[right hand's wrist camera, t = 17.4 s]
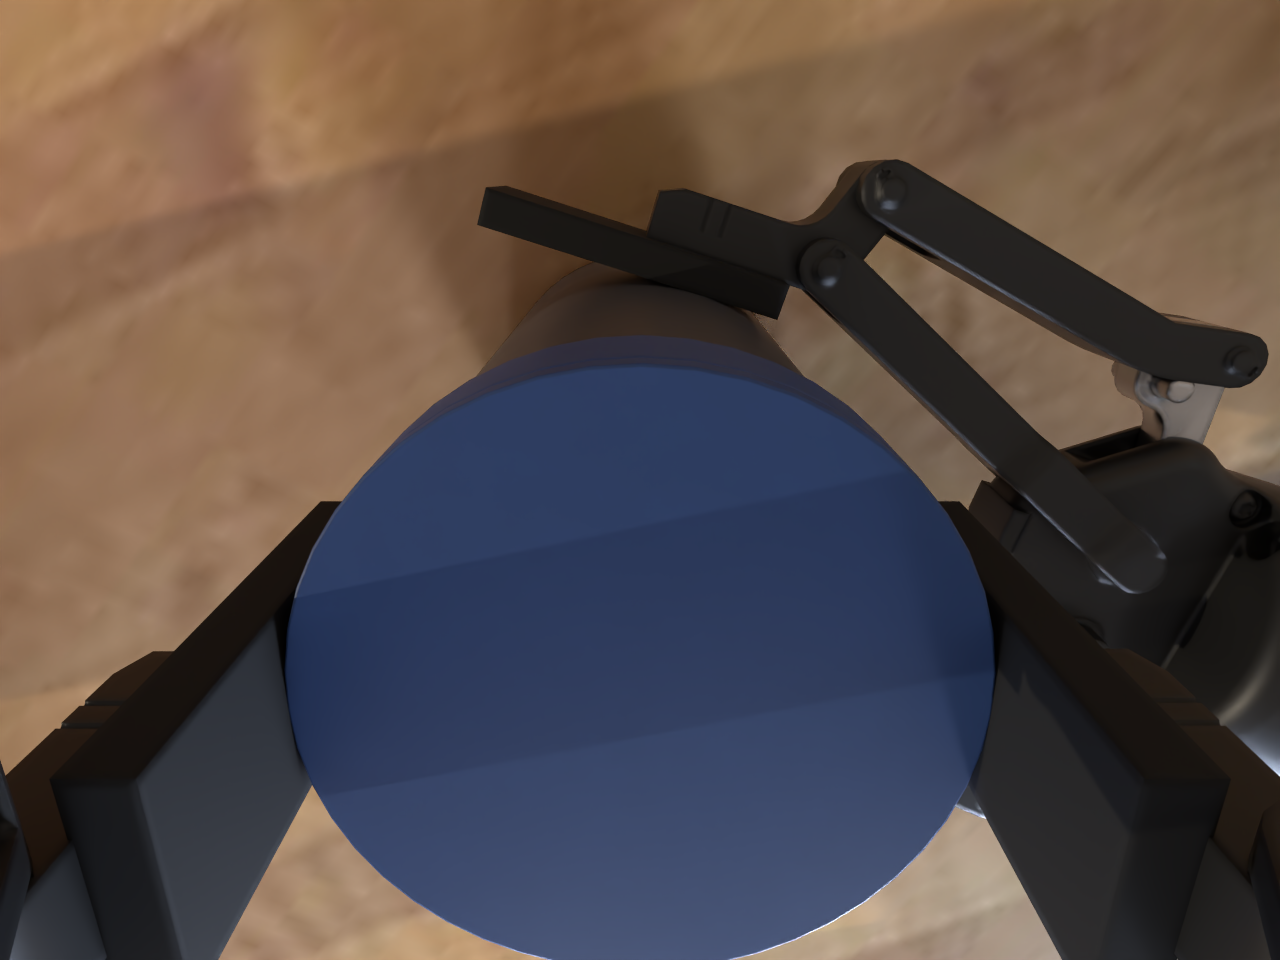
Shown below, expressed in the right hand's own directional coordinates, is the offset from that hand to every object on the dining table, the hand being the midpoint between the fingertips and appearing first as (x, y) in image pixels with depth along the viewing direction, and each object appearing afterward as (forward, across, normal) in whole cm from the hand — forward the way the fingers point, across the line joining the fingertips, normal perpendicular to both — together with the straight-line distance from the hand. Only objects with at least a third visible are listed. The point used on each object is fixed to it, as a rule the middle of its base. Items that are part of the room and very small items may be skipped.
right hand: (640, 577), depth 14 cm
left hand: (+7, -4, +1) cm, 8 cm away
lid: (-3, 0, 0) cm, 3 cm away
